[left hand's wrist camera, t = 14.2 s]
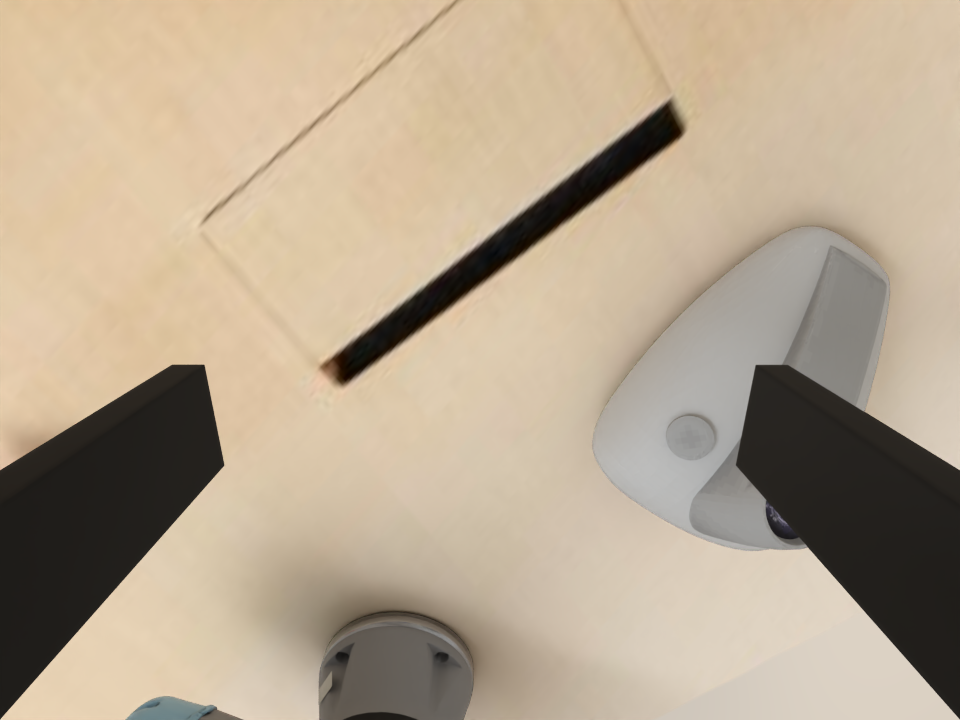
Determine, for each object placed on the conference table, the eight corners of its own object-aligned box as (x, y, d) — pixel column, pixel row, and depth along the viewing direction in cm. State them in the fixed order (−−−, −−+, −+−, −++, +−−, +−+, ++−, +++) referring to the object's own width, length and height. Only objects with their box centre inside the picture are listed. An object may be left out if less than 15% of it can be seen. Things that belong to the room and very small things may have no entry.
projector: (872, 461, 43) (1053, 593, 30) (610, 527, 46) (666, 678, 32) (857, 203, 36) (1088, 220, 22) (547, 297, 39) (585, 365, 25)
